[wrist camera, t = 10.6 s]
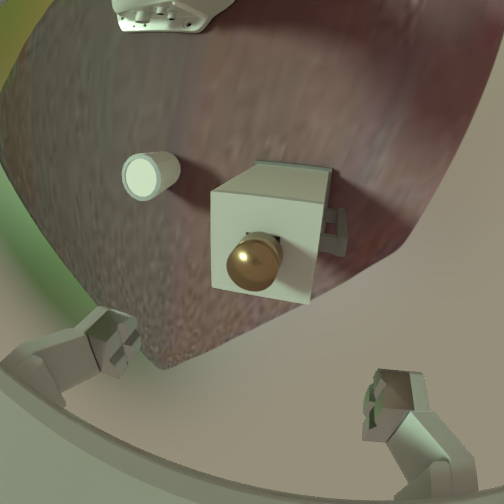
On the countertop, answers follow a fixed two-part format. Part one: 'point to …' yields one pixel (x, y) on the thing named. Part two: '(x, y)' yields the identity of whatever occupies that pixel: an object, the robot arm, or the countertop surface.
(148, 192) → the shot glass
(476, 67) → the countertop surface
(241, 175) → the block
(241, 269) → the plunger
